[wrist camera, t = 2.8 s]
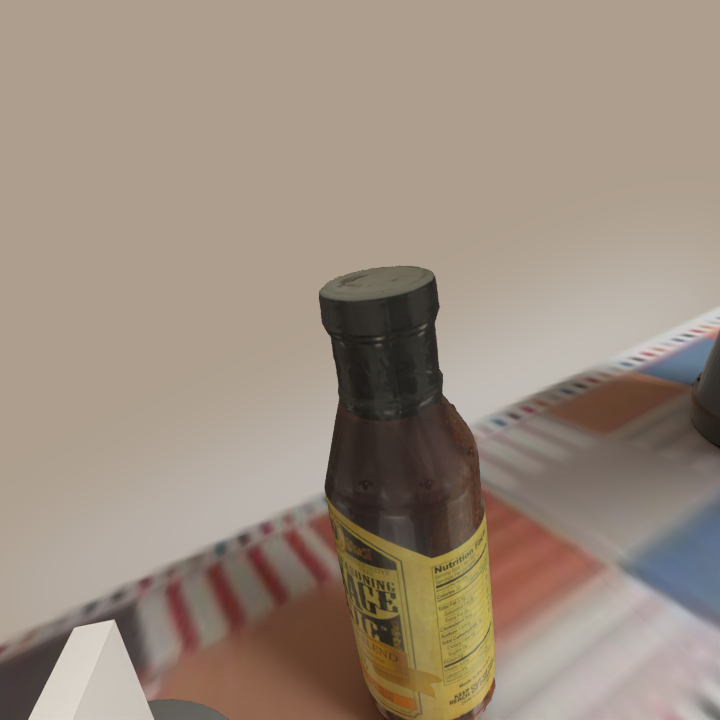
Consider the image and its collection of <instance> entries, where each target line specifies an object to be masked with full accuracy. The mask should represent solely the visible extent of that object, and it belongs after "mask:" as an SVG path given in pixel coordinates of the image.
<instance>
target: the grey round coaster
mask: <svg viewBox="0 0 720 720" xmlns="http://www.w3.org/2000/svg"><path fill="white" fill-rule="evenodd" d="M147 703H148V705H149V708H150V710H151V713H152V715H153V718H154V720H229V719H228V718H226V717H225V716H223V715H222V714H220V713H219V712H218V711H216V710H213V709H211V708H209V707H207V706H205V705H202V704H198V703H194V702H191V701H183V700H174V699H172V700H154V701H147Z"/></svg>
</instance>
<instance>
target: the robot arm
mask: <svg viewBox="0 0 720 720" xmlns="http://www.w3.org/2000/svg"><path fill="white" fill-rule="evenodd" d="M690 414H691V419H692V422H693V424H694V425H695V427H696V428H697V429H698V430H699V432H701V433H702V434H703V435H704V436H705V437H706V438H707V439H709V440H710V441H712V442H713V443H715V444H716V445H718V446H720V331H719V333H718V336H717V338H716V340H715V342H714V345H713V347H712V349H711V352H710V354H709V356H708V359H707V361H706V364H705V366H704V369H703V372H701V373H700V374H699V375H698V377H697V379H696V381H695V383H694V385H693V389H692V396H691V413H690ZM28 720H154V718H153V715H152V713H151V710H150V708H149V705H148V703H147V700H146V698H145V695H144V693H143V690H142V688H141V685H140V683H139V680H138V678H137V675H136V673H135V670H134V668H133V665H132V663H131V660H130V658H129V655H128V653H127V650H126V648H125V645H124V643H123V640H122V638H121V635H120V633H119V630H118V628H117V625H116V622H115V620H110V621H105V622H100V623H95V624H90V625H85V626H80V627H75V628H74V629H73V631H72V633H71V635H70V637H69V639H68V641H67V643H66V645H65V647H64V649H63V651H62V653H61V655H60V657H59V659H58V661H57V663H56V665H55V667H54V669H53V671H52V673H51V675H50V677H49V679H48V681H47V683H46V685H45V687H44V689H43V691H42V693H41V695H40V697H39V699H38V701H37V703H36V705H35V707H34V709H33V711H32V713H31V715H30V717H29V719H28Z"/></svg>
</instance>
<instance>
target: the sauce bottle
mask: <svg viewBox="0 0 720 720" xmlns="http://www.w3.org/2000/svg"><path fill="white" fill-rule="evenodd" d="M319 302H320V308H321V318H322V324H323V325H324V327H325V329H326V331H327V333H328V334H329V335H330V336H331V341H332V348H333V356H334V360H335V364H336V370H337V376H338V385H339V387H338V393H339V404H338V409H337V414H336V420H335V426H334V432H333V438H332V444H331V451H330V456H329V462H328V469H327V474H326V480H325V494H326V498H327V503H328V509H329V516H330V520H331V524H332V528H333V533H334V538H335V544H336V548H337V552H338V558H339V564H340V568H341V573H342V577H343V584H344V587H345V593H346V598H347V604H348V607H349V610H350V615H351V620H352V625H353V629H354V634H355V639H356V644H357V649H358V653H359V658H360V663H361V668H362V672H363V676H364V679H365V682H366V684H367V686H368V688H369V693H370V695H371V697H372V700H373V702H374V704H375V705H376V707H377V708H378V709H379V711H380V712H381V713H382V714H383V715H384V716H385V718H386V719H388V720H477V719H478V718H479V716H480V715H481V714H482V713H483V712H484V710H485V708H486V706H487V705H488V703H489V702H490V700H491V698H492V695H493V692H494V688H495V679H494V673H495V666H496V659H495V644H494V629H493V615H492V600H491V585H490V570H489V556H488V541H487V526H486V513H485V502H484V499H483V496H482V494H481V482H480V470H479V456H478V451H477V447H476V442H475V440H474V437H473V435H472V433H471V430H470V429H469V428H468V426H467V424H466V422H465V421H464V420H463V419H462V417H461V416H460V415H459V413H458V412H457V411H456V408H455V406H454V405H453V404H450V403H449V401H448V400H447V399H446V398H445V397H444V396H443V394H442V384H443V374H442V372H441V371H440V369H439V363H438V349H437V340H436V329H435V320H436V317H437V313H438V310H439V302H438V292H437V284H436V279H435V276H434V274H433V272H432V271H430V270H427V269H423V268H420V267H413V266H396V267H381V268H372V269H368V270H361V271H358V272H353V273H350V274H347V275H344V276H340V277H338V278H335V279H334V280H332V281H330V282H328V283H327V284H326V285H325V286H324V287H323V288H322V289H321V290H320V292H319Z"/></svg>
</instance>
